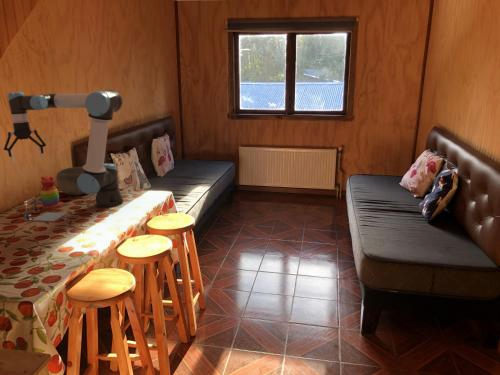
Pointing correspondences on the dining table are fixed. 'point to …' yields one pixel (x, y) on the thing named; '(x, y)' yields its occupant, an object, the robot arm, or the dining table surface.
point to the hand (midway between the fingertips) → (27, 161)
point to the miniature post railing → (27, 209)
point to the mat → (49, 217)
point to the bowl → (69, 180)
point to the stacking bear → (49, 194)
